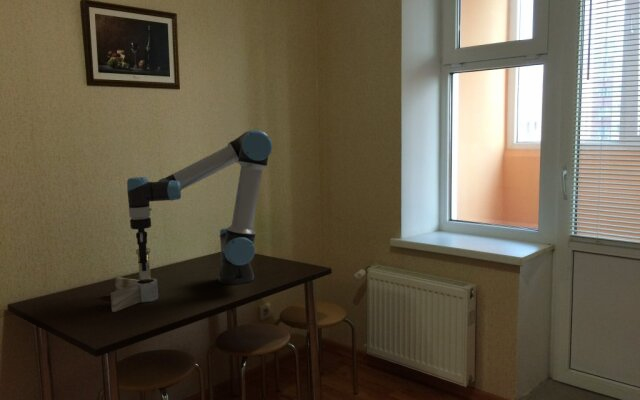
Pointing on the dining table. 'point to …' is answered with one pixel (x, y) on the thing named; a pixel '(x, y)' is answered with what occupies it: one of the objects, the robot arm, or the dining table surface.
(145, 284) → the knuckle barrel
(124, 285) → the hinge leaves
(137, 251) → the hinge pin
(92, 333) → the dining table surface
